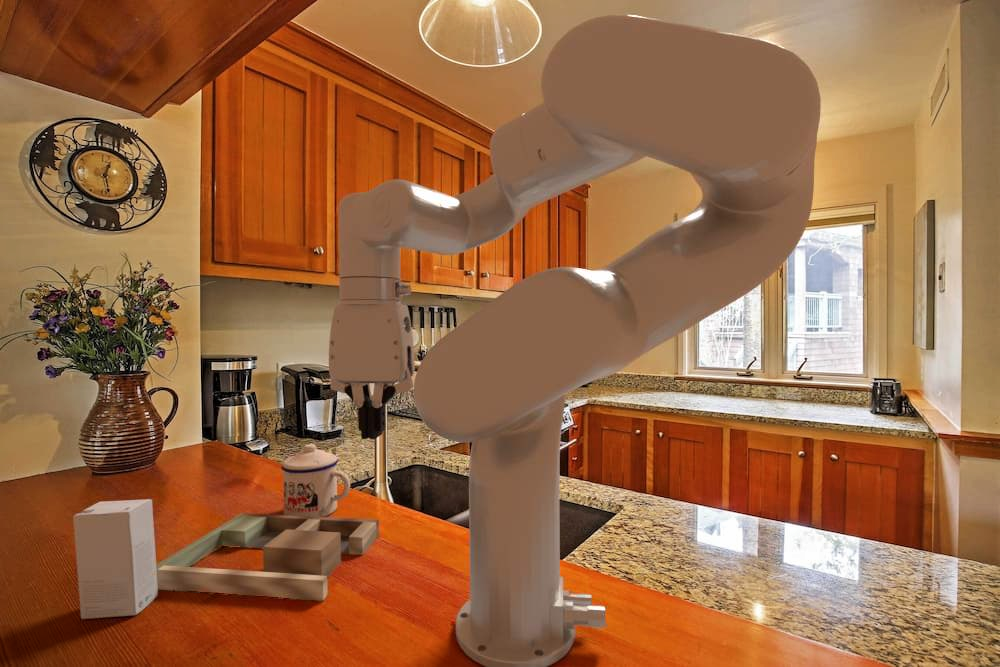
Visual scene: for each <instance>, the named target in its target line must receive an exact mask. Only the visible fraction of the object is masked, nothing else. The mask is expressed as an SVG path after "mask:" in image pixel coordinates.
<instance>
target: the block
mask: <svg viewBox="0 0 1000 667" xmlns="http://www.w3.org/2000/svg"><path fill="white" fill-rule="evenodd" d="M262 559H263V562H262V563H263V572H274V573H289V574H305V575H320V576H327V577H328V576H329V575H330V574H331V573H332V571H333V570H334V569H335V568H336V567H337V566H339V567H340V565H341V564H342V554H341V535H340V533H339V532H322V531H305V530H288V529H286V530H285V531H283V532H282V533H281V534H279V535H278V536H277V537H275V538H274V539H273V540H271V541H270V542H269V543H267V544H266V545H265V546H263V549H262ZM340 563H341V564H340ZM339 564H340V565H339ZM332 574H333V573H332ZM332 574H331V575H332ZM331 575H330V576H331ZM330 576H329V577H330ZM329 577H328V578H329Z"/></svg>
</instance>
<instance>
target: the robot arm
mask: <svg viewBox="0 0 1000 667" xmlns="http://www.w3.org/2000/svg"><path fill="white" fill-rule="evenodd" d="M540 80H541V82H540V90H541V95H542V99H543V102H542V103H540V104H538V105H537V106H535V107H533V108H531V109H529V110H527V111H525V112H524V113H522V114H520V115H518V116H516V117H515V118H513V119H511V120H509V121H507V122H505V123H503V124H501V125H500V126H498V127H497V128H496V129H495V130H494V132H493V133H492V135H491V138H490V141H489V158H490V163H491V167H492V171H493V174H491V175H490V176H489V177H488V178H487V179H486V180H484V181H483V182H481V183H480V184H478V185H477V186H475V187H473V188H471V189H468V190H466V191H464V192H462V193H460V194H458V195H457V194H456V195H454V196H451V195H449V194H447V193H445V192H444V193H443V192H441V191H438V190H435V189H432V188H430V187H426V186H424V185H420V184H418V183H415V182H413V181H409V180H406V179H395V178H394V179H390V180H387V181H384V182H381V183H380V184H378V185H376V186H375V187H373V188H371V189H370V190H367V191H365V192H363V191H362V192H353V193H349V194H346V195H345V196H343V197H342V198H341V200H340V202H339V204H338V259H339V260H338V263H339V264H338V265H339V266H338V270H339V272H338V273H339V304H335V306H334V309H333V315H332V318H331V323H330V324H331V326H330V333H329V342H328V345H329V347H328V372H329V377H330V379H331V381H330V386H329V387H330V389H331V390H332V391H335V392H339V393H342V394H346V395H347V396H348V397H349V399H351V400H352V402H353V404H354V407H355V408H357V410H358V412H357V414H358V416H357V417H358V431H359V432H360V435H361V436H360V437H361V439H362V440H367V439H369V440H376V439H378V437H380V436H382V435H383V432H384V431H385V429H386V405H387V404H388V403H389V401H391V399H392V398H393V397H394V396H395V395H399V394H402V393H407V392H410V391H412V390H413V400H414V406H415V410H416V411H417V414H418V415H419V417H420V419H421V420H422V422H423V423H424V425H425V426H426V427H427V428H428V429H429V430H431V431H432V432H433V433H434V434H436V435H437V436H439V437H441V438H443V439H444V440H448V441H451V442H456V443H463V444H466V443H471V449H470V453H469V454H470V455H469V466H468V516H469V517H468V521H469V524H468V525H469V526H468V529H469V530H468V532H469V534H468V535H469V536H468V537H469V600H467V601H466V602H465V603H464V605H462V606H461V608H460V609H459V611H458V613H457V615H456V619H455V635H456V641H457V643H458V644H459V648H460V649H461V650H462V651H463V652H464V653H465V655H467V656H468V657H469V658H470V659H472V660H473V661H474V662H476V663H478V664H479V665H481V666H484V667H549V666H551V665H553V664H556V663H557V662H558V661H559V660H561V659H562V658H563V657H565V656H566V655H567V653H569V651H570V650H571V648H572V646H573V644H574V641H575V637H576V626H585V627H589V628H601V629H606V626H607V623H606V620H607V619H606V617H607V616H606V608H605V605H595V604H592V593H570V590H565V589H564V578H563V576H561V566H560V565H561V564H560V563H561V562H560V561H561V560H560V558H561V554H560V553H561V549H560V548H561V547H560V546H561V543H560V542H561V541H560V536H561V534H560V532H561V530H560V519H561V518H560V487H561V486H560V480H561V479H560V471H561V470H560V469H561V468H560V467H561V466H560V465H561V464H560V457H561V455H560V454H561V438H562V437H561V436H562V426H563V420H564V419H563V418H564V411H565V406H566V405H565V404H566V396H567V394H568V393H570V392H573V391H574V390H575V389H578V388H580V387H582V386H583V385H584V386H585V385H587V384H589V383H592V382H594V381H597V380H598V381H599V380H601V379H604V378H607V377H610V376H612V375H614V374H616V373H619V372H621V371H622V370H623V369H625V368H627V366H630V364H631V363H633V362H634V361H637V359H639V358H640V357H642V356H644V355H645V354H647V353H648V352H650V351H651V350H653V349H655V348H656V347H659V346H661V345H662V344H664V343H665V342H666V343H667V341H669V340H671V339H673V338H675V337H676V336H678V335H680V334H682V333H684V332H685V331H687V330H689V329H691V328H692V327H694V326H696V325H697V324H698V323H700V322H702V321H703V320H705V319H707V318H708V317H709V316H712V315H713V314H715V313H717V312H719V311H720V310H722V309H724V308H726V307H727V306H729V305H731V304H732V303H735V302H736V301H737V300H739V299H740V298H742V297H744V296H745V295H747V294H749V293H750V292H751V291H753V290H755V289H756V288H758V287H759V286H760V285H761V284H762V283H764V282H766V281H767V280H768V279H769V278H770V277H772V275H774V273H776V272H777V271H778V270H779V269H780V268H781V267H782V266H783V265H784V263H785V262H786V261H787V260H788V258H789V257H790V256H791V255H792V253H793V251H795V249H796V247H797V246H798V244H799V242H801V241H800V240H801V239H802V237H803V235H804V232H805V231H806V228H807V226H808V223H809V220H810V216H811V211H812V207H813V200H814V191H815V190H814V186H815V158H816V152H817V151H816V150H817V142H818V132H819V127H820V119H821V110H822V109H821V106H822V105H821V102H822V99H821V94H820V89H819V85H818V81H817V79H816V77H815V75H814V74H813V72H812V70H811V68H810V67H809V65H808V64H807V63H806V62H805V61H804V60H803V59H801V57H799V56H798V55H797V54H796V53H795V52H793V51H791V50H789V49H786V48H785V47H784V46H781V45H779V44H777V43H775V42H771V41H768V40H765V39H762V38H756V37H752V36H748V35H743V34H738V33H737V34H736V33H732V32H727V31H722V30H716V29H710V28H706V27H699V26H695V25H689V24H686V23H685V24H683V23H679V22H674V21H668V20H663V19H657V18H651V17H645V16H639V15H631V14H608V15H603V16H597V17H594V18H592V19H588V20H585V21H583V22H581V23H580V24H578V25H576V26H574V27H572V28H571V29H569V31H567V32H566V33H565V34H564V35H563V36H562V37H561V38H560V39H559V40H558V41H557V42H556V43H555V45H554V46H553V47H552V49H551V51H550V52H549V54H548V56H547V59H546V61H545V62H544V66H543V70H542V75H541V78H540ZM646 157H648V158H651V159H653V160H655V161H660V162H662V163H664V164H667V165H670V166H673V167H676V168H678V169H681V170H683V171H685V172H687V173H689V174H690V175H691V176H692V178H693V180H694V181H695V183H696V184H697V185H698V187H699V188H700V189H701V193H702V197H701V200H700V202H699V203H698V205H697V206H696V207H695V208H694V209H693V210H692V211H691V212H689V213H688V214H687V215H685V216H683V217H681V218H680V219H677V220H676V221H673V222H672V223H670V224H667V225H666V226H664V227H662V228H660V229H659V230H657V231H656V232H654V233H653V234H650V235H649V236H648V237H646V238H645V239H643V241H641V242H640V243H638V245H635V247H632V248H631V249H630V250H628V251H627V252H625V253H624V254H622V255H621V256H619V257H618V258H616V259H615V260H612V262H610V263H608V264H606V265H604V266H602V267H600V268H598V269H592V270H590V269H589V270H588V269H586V268H579V267H574V266H573V267H572V266H559V267H552V268H548V269H544V270H541V271H538V272H535V273H533V274H531V275H529V276H527V277H525V278H523V279H521V280H519V281H518V282H517V283H515V284H513V285H512V286H511V287H509V288H508V289H506V290H505V291H504V292H502V293H501V294H499V295H498V296H496V297H495V298H494V299H492V300H491V301H490V302H489V303H487V304H485V306H483V307H481V308H480V309H479V310H477V312H475V313H474V314H472V315H471V316H470V317H469V318H467V319H466V320H464V321H463V322H462V323H460V324H459V325H458V326H456V327H455V328H453V329H452V330H451V331H449V332H448V333H447V334H445V335H444V336H443V337H442V338H440V339H439V340H437V342H435V344H434V345H433V346H432V347H430V348H429V350H428V351H427V352H426V354H424V357H423V358H422V360H421V361H420V363H419V365H418V369H417V371H416V374H415V369H416V367H415V348H414V338H413V329H412V322H411V321H412V320H411V316H410V310H409V308H408V305H407V304H402V303H401V301H403V298H404V297H405V296H410V295H412V286H411V284H405V283H403V280H402V278H401V276H402V275H401V249H406V250H411V251H419V252H424V253H425V252H426V253H430V254H435V255H439V256H440V255H441V256H454V255H458V254H462V253H465V252H468V251H471V250H474V249H475V248H478V247H480V246H483V245H486V244H488V243H491V242H492V241H495V240H497V239H499V238H502V237H503V236H504V235H506V234H507V233H508V232H510V231H511V230H512V229H513V228H514V227H516V225H518V223H520V222H521V221H522V220H523V219H524V218H525V216H527V214H528V213H529V211H530V210H531V209H533V208H534V207H536V206H537V205H540V204H542V203H544V202H545V203H546V201H549V200H552V199H554V198H557V197H558V196H560V195H562V194H564V193H567V192H568V191H571V190H573V189H576V188H578V187H580V186H583V185H585V184H587V183H588V184H589V182H592V181H595V180H598V179H600V178H602V177H604V176H606V175H609V174H611V173H614V172H615V171H618V170H620V169H623V168H625V167H628V166H630V165H632V164H634V163H636V162H638V161H641V160H643V159H645V158H646ZM414 374H415V378H414V383H413V379H412V377H413V376H414ZM371 384H374V386H373V394H372V392H371Z"/></svg>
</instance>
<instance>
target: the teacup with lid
mask: <svg viewBox="0 0 1000 667" xmlns="http://www.w3.org/2000/svg"><path fill="white" fill-rule="evenodd" d="M338 462H339V459H338V457H337V456H336V455H335V454H334V453H331V452H326V451H324V450H321V449H318V448H317V446H316V444H315V443H309V444H305V445H304V446H303V450H302V451H299V452H297V453H296V454H295V455H293V456H290V457H287V458H286V459H285V460H284V461H283V462H282V465H281V470H282V479H283V480H282V481H283V482H282V483H283V484H282V485H283V515H292V516H313V517H329V515H331V514H333V513H334V512H335V511H336V510H337V507H338V501H340V500H343V499H344V498H346V497H347V496H348V494H349V492H350V489H351V480H350V477H349V476H348V474H346V472H343V471H341V470H337V467H338V466H337V464H338ZM337 478H340V479H341V480H342V482H343V484H344V486H343V487H344V488H343V491H342V493H341V494H339V495H338V479H337Z"/></svg>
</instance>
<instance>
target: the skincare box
mask: <svg viewBox="0 0 1000 667" xmlns="http://www.w3.org/2000/svg"><path fill="white" fill-rule="evenodd" d="M153 510H154V509H153V499H151V498H150V499H149V498H148V499H131V500H130V499H129V500H127V499H126V500H107V501H98V502H97V503H94V504H93V505H91V506H89V507H87V508H84V509H83V510H81V511H80V512H77V513H76V514H74V515H73V516H72V520H73V521H72V522H73V531H74V534H73V535H74V542H75V543H74V544H75V556H76V570H77V571H76V572H77V585H78V595H79V596H78V597H79V610H80V612H79V613H80V618H81V620H86V619H100V618H101V619H102V618H103V619H104V618H114V617H129V616H136V615H138V614H139V613H141V612H142V611H143V610H144V609H145V608H146V607H148V606H149V605H150V604H151V603H152V602H153V601H154V600H155V599H156V598H157V597H158V596H159V589H158V586H157V569H156V564H157V558H156V557H157V556H156V542H155V527H154V514H153V513H154V511H153Z"/></svg>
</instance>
